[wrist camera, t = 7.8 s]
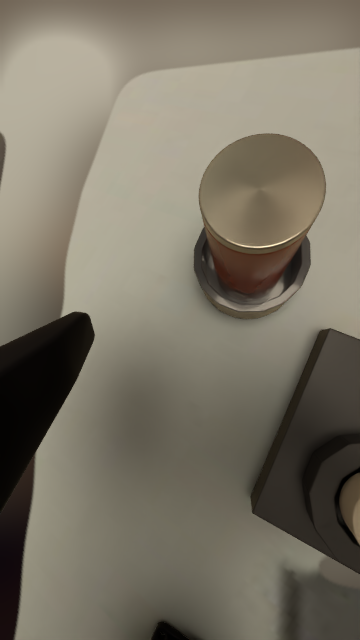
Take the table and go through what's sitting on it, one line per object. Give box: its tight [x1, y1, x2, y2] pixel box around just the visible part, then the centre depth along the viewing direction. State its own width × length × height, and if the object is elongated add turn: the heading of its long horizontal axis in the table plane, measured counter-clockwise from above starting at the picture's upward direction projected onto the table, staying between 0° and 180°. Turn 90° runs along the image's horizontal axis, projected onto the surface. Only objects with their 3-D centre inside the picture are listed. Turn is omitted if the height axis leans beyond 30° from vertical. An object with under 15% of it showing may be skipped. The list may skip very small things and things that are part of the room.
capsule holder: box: [194, 227, 311, 319], centre depth 18 cm, size 7×7×4 cm
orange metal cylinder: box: [199, 134, 326, 301], centre depth 15 cm, size 4×4×10 cm
